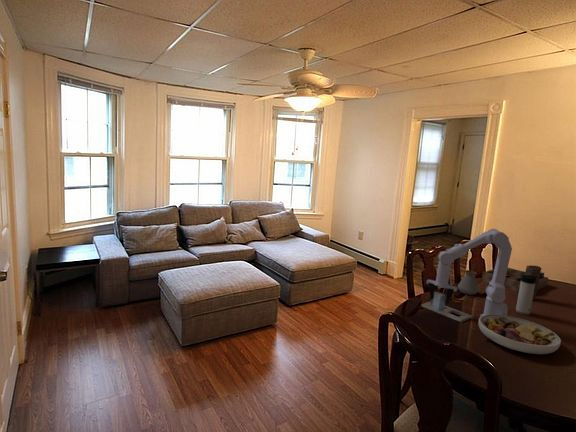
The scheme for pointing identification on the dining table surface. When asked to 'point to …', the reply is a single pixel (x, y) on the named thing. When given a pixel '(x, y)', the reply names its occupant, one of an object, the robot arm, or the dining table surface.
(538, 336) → the bowl
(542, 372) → the dining table surface
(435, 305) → the plug
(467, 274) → the coffee pot
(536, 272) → the dark grey canister
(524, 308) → the travel mug
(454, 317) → the panel
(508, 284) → the stereo stand
